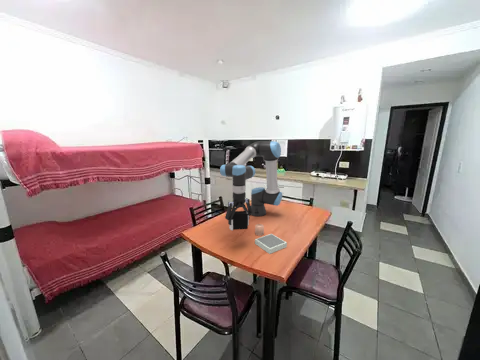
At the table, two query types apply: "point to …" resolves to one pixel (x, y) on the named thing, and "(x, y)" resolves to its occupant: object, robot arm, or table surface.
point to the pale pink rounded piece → (259, 229)
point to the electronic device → (240, 220)
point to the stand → (270, 243)
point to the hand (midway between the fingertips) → (239, 227)
